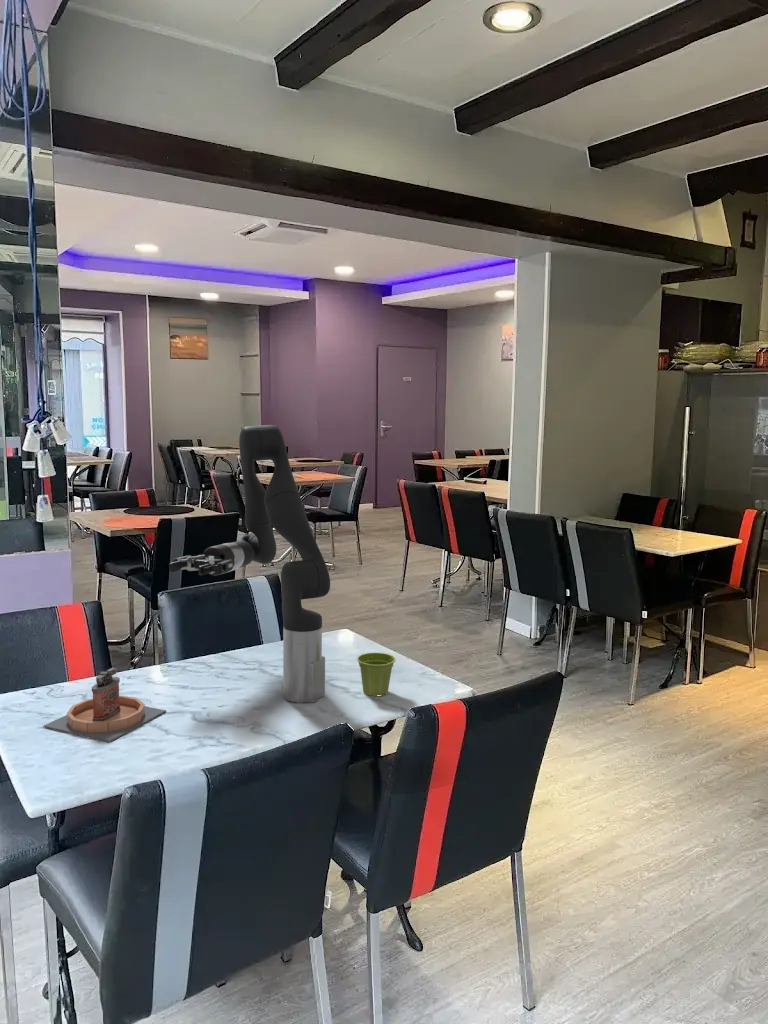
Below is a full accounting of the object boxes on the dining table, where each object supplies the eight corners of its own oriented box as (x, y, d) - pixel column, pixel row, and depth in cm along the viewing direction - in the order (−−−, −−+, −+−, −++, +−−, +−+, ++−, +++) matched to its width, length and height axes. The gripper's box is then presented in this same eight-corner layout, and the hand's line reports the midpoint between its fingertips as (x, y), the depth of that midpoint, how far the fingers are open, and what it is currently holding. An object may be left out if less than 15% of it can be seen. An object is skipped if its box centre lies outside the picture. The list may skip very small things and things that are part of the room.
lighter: (102, 723, 164) (101, 678, 163) (88, 721, 165) (87, 676, 164) (124, 709, 172) (123, 666, 171) (110, 708, 173) (109, 665, 172)
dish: (158, 711, 173) (158, 702, 173) (109, 737, 159) (108, 727, 158) (104, 700, 179) (104, 691, 179) (52, 724, 165) (51, 715, 164)
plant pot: (402, 694, 187) (403, 660, 186) (370, 702, 182) (370, 666, 181) (380, 683, 195) (381, 650, 194) (349, 690, 190) (349, 656, 189)
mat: (166, 712, 174) (166, 710, 174) (109, 742, 157) (109, 740, 157) (104, 699, 180) (103, 697, 180) (43, 727, 164) (43, 725, 164)
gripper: (200, 542, 202) (160, 551, 187) (246, 546, 196) (209, 556, 182) (201, 570, 203) (161, 581, 188) (247, 575, 197) (209, 587, 182)
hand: (184, 569), depth 185 cm, fingers open, 8 cm apart
